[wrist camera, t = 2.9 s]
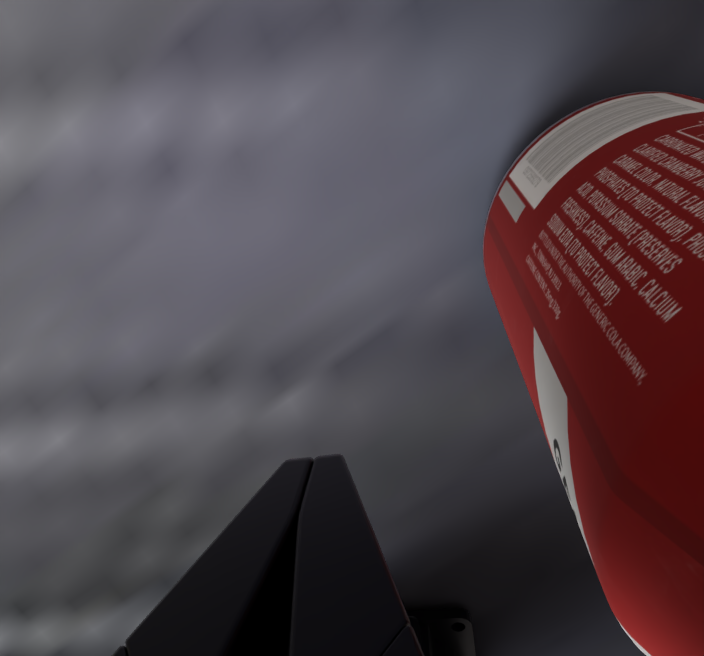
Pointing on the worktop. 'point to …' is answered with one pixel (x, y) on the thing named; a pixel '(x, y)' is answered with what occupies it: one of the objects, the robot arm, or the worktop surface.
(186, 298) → the worktop surface
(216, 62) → the worktop surface
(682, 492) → the soda can
